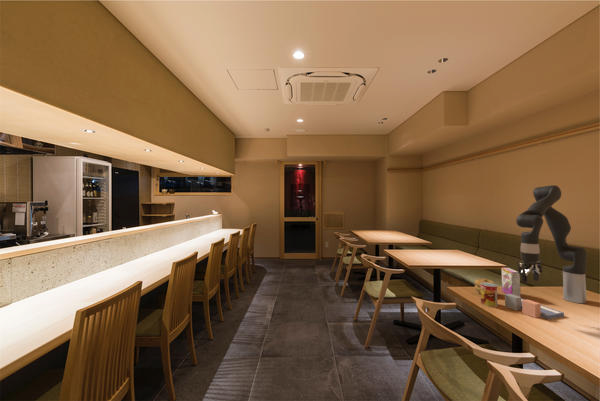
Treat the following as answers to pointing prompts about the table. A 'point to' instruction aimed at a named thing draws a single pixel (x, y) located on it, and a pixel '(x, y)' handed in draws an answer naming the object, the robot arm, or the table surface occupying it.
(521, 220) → the robot arm
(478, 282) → the pot
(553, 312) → the ticket slab
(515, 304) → the stub grey
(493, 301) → the canned food
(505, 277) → the candy bar box
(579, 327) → the table surface
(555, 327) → the table surface
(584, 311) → the table surface
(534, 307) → the stub terracotta
